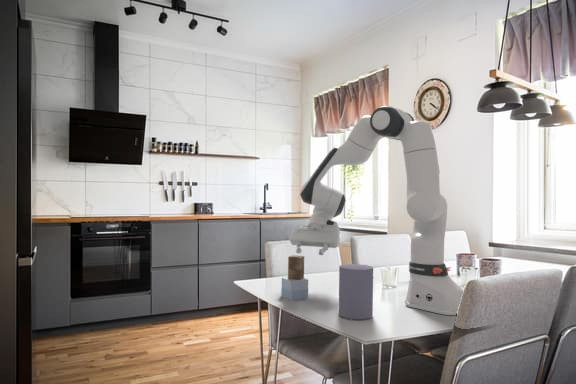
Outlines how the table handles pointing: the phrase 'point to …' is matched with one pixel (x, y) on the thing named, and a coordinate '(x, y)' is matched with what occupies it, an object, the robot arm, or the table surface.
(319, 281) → the table surface
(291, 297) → the tower base
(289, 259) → the walnut block
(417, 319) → the table surface
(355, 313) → the container
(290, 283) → the tower top
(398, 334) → the table surface
